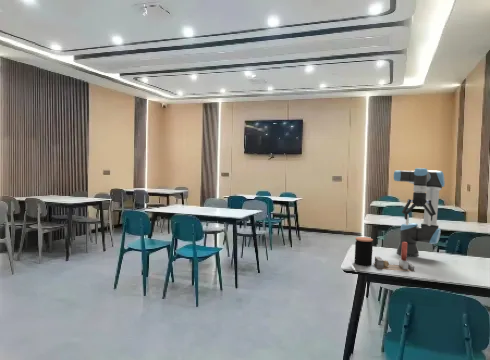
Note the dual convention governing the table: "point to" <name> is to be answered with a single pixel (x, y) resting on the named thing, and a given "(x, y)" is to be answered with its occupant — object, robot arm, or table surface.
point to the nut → (385, 263)
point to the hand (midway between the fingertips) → (418, 225)
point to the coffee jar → (363, 251)
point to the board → (391, 266)
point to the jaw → (403, 256)
